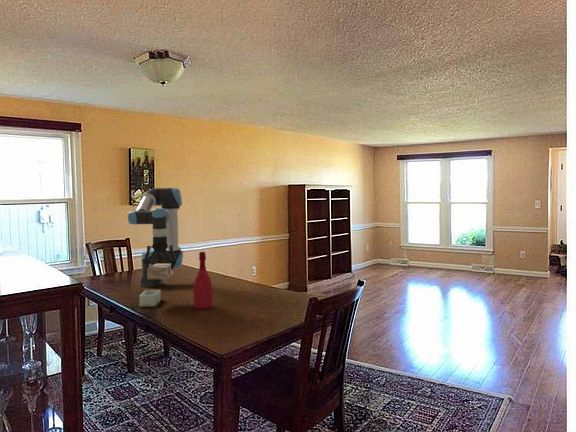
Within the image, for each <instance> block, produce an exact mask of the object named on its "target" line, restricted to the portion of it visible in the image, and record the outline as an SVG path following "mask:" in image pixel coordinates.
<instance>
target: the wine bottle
mask: <svg viewBox="0 0 576 432" xmlns="http://www.w3.org/2000/svg"><path fill="white" fill-rule="evenodd" d="M198 255H199V257H198V260H199V269H198V272H197V274H196V277H195V279H194V283H193V306H194V308H195V309H197V310H207V309H210V308H212V306H213V283H212V281H211V278H210V276H209V274H208V272H207V268H206V260H207V256H206V252H204V251H200V252H199V254H198Z"/></svg>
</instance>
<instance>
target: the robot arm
mask: <svg viewBox="0 0 576 432" xmlns="http://www.w3.org/2000/svg"><path fill="white" fill-rule="evenodd" d="M139 200H140V201H139V204H138V205H137V207H136V209H135V210H134V211H133V210H132V211H129V212H128V215H127V221H128V224H129V225H135V226H136V225H152V245H148V246H147V245H146V251H143V252H142V254H141V275H140V279H139V286H140V287H144V288H145V287H146V288H152V287H159V286H162V285H164V279H147V268H149V267H150V266H152V265H154V264H156V263H170V264H169V267H170V277H172V276H173V275H172V270H174V269H181V267H182V264H183V259H184V258H183V257H184V250H182V248H181V247H180V246H179V221H178V218H179V217H178V215H179V214H178V212H179V210H180V208H181V206H183V199H182V193H181V191H180V189H179V188H175V187H166V188H165V187H163V188H161V187H158V188H157V187H156V188H152V189H149V190H146V191H145V192H144V193H143V194H142V195H141V196H140V199H139ZM154 206H155V207H157V208H153V207H154ZM159 207H160V208H159Z"/></svg>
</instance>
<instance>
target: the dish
mask: <svg viewBox="0 0 576 432" xmlns="http://www.w3.org/2000/svg"><path fill="white" fill-rule="evenodd" d="M138 297H139V298H138V299H139V307H157V305H158V304H159V303H160V301H161V300H162V291H161V289H145V290H144V291H142V292H141V293H140V295H139V296H138Z"/></svg>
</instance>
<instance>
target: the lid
mask: <svg viewBox="0 0 576 432" xmlns="http://www.w3.org/2000/svg"><path fill="white" fill-rule="evenodd" d="M169 264H170V263H156V264H154V265H152V266H150V267H149V268H147V279H163V280H166V279H169V278H170V277H171V276H173V275H174V272H175V271H174V269H173V270H172V275H171V276H170V267H169Z"/></svg>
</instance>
